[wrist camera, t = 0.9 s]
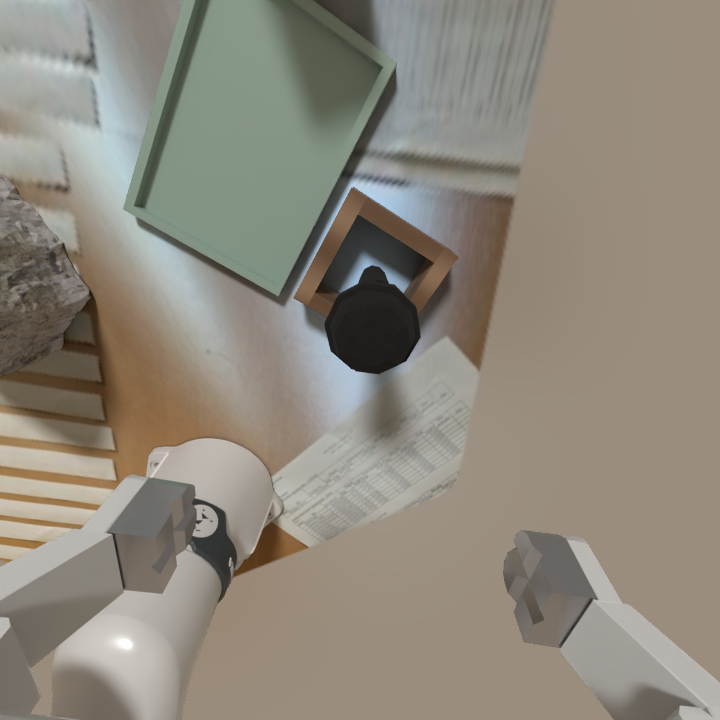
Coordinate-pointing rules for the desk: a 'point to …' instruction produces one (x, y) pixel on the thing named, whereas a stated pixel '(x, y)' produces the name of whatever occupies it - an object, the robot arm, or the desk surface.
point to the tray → (254, 130)
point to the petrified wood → (32, 285)
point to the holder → (392, 224)
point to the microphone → (372, 324)
